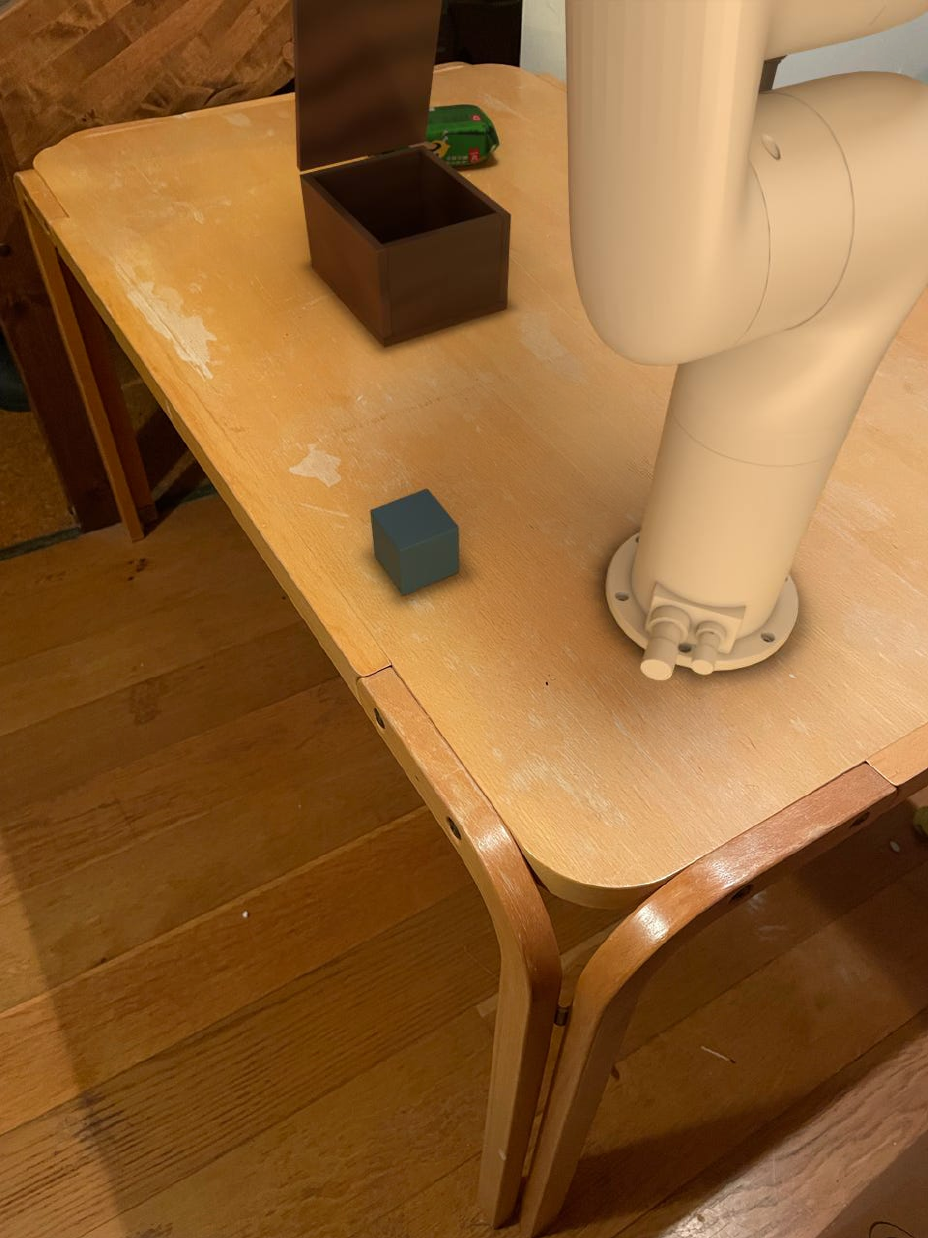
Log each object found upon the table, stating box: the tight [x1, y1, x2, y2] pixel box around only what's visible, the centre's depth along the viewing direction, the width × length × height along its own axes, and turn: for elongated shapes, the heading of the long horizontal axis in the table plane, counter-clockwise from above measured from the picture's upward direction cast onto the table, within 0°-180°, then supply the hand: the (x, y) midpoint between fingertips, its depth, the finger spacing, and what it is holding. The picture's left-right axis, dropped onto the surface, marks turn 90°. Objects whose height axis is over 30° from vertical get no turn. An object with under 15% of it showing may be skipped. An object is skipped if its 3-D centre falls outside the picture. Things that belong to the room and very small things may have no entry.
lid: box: [292, 0, 443, 173], centre depth 76 cm, size 17×13×6 cm
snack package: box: [367, 103, 500, 168], centre depth 101 cm, size 7×16×5 cm, turn 102°
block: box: [369, 488, 460, 596], centre depth 61 cm, size 4×4×4 cm
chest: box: [299, 145, 512, 348], centre depth 82 cm, size 16×13×9 cm
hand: (344, 0), depth 74 cm, fingers closed on lid, 5 cm apart
